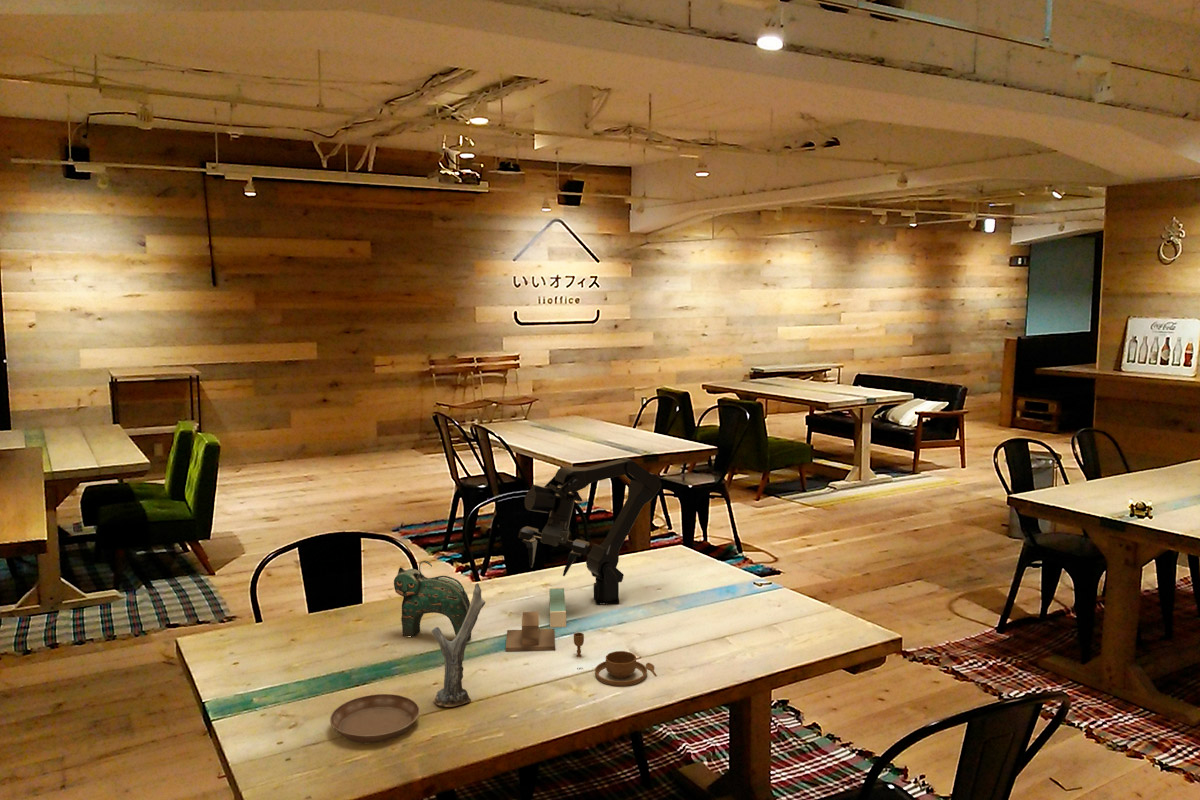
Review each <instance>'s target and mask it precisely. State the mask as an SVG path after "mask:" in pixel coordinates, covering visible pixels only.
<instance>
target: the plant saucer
mask: <svg viewBox="0 0 1200 800" xmlns="http://www.w3.org/2000/svg"><path fill="white" fill-rule="evenodd" d="M420 711H421V710H420V706H419V705H418V703H417V702H416V701H414V700H412V699H411V698H409V697H407V696H403V695H400V694H399V695H398V694H393V693H392V694H390V693H389V694H388V693H379V694H378V693H377V694H368V695H364V696H359V697H356V698H353V699H351V700H348V701H346V702H344V703H342V704H341V705H339V706H337V708H335V709H334V710H333V711H332V713H331V715H330V718H329V721H330V724H331V726H332V728H333V729H334V731H336V732H337V733H338V734H339V735H340V736H341V737H342V738H344V739H346V740H347V741H349V742H353V743H358V744H366V743H367V744H377V743H378V744H379V743H380V744H381V743H384V742H388V741H391V740H394V739H396V738H399V737H400V736H402V735H403V734H405V733H406V732H407V731H409V730H410V728H411V727H412V726H413V725H414V724H415V722H416V720H417V719H418V717H419V716H420ZM367 744H366V745H367Z"/></svg>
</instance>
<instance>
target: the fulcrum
mask: <svg viewBox="0 0 1200 800" xmlns="http://www.w3.org/2000/svg"><path fill="white" fill-rule="evenodd" d="M521 617H522V619H521V629H507V630H506V642H505V652H508V653H509V652H534V651H535V652H538V651H539V652H541V651H556V635H555V628H539V625H540V622H539V621H540V620H539V611H522V616H521Z"/></svg>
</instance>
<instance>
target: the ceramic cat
mask: <svg viewBox="0 0 1200 800" xmlns="http://www.w3.org/2000/svg"><path fill="white" fill-rule="evenodd" d="M422 563H426V564H428V565H429V566H430V567H431V568H432V566H433V565H432V563H430V561H428V560H422V561H420V563H419V565H418V569H415V568H409V569H407V570H405V569H404V568H403V567H399V568H398V572H397V575H396V576H395V578H393V588H394V591H395V593H396V594H397V595H399V596H401V597H403V599H402V603H401V616H400V617H401V618H400V621H401V626H402V627H401V628H402V630H401V631H402V637H405V636H411V637H410V638H413V637H412V636H415V637H416V636H418V634H420V632H421V622H422V621H421V620H422V618H423V616H424V615H425V614H433V613H436V614H441V615H443V616H446V617H447V618H448V619H449V621H450V623H451V626H452V627H453V632H454V635H455V637H456V636H457V634H458V633H459V631H460V629H461V627H462V624H463V622H464V620H465V617H466V615H467V613H468V610H469V607H470V604H471V601H470V599H469V597H468V594H467V592H466V590H465V587H464V586H463V584H462V583H461V582H460V581H459V580H458V579H456V578H454V577H451V576H448V575H439V576H434V577H426V576H425V574H423V572H421V564H422ZM471 639H472V632H471V633H470V635H469V637H468V639H467V643H469V641H470V640H471Z"/></svg>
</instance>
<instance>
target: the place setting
mask: <svg viewBox="0 0 1200 800" xmlns="http://www.w3.org/2000/svg"><path fill="white" fill-rule="evenodd" d="M584 642H585V635H584V633H583V632H575V633H573V644H574V646H576V649H577V650H576V653H577V655H576V657H577V658H580V657H582V655H581V653H582V649H581V647H582V646H583V645H584V644H585V643H584ZM576 669H577V670H578V671H580V670H584V668H583V667H581V666H580V667H577V668H576ZM604 669H606V671H607V672H608V673H609V674H610V675H612V677H614V678H615V679H626V678H629V677H630V676H631V675H632V674H634V672H635V671H636V669H637V670H638V671H640V672H641V673H642V675H641V677H638V678H635V679H631V680H622V681H621V680H619V681H618V680H611V679H607V678H605V677H602V676H601V675H600V672H601V671H603V670H604ZM648 671H651V672H652V674H653V676H654V677H658V675H657V673H656V672H655V665H654V664H653V663H651V662H646V664H645V665H644V664H643V663H642V662H639V661H637V656H636V655H635V653H633V652H629V651H625V650H624V651H623V650H617V651H612V652H610V653H607V655H605V660H604V661H603V662H600V663H599V664H598V665H596V667H595V668H594V675H595V677H596V679H597V680H598V681H600V682H601V683H603V684H605V685H610V686H616V687H629V686H633V685H637V684H639V683H641V682H643V681H644V680H645V679H646V677H647V674H648Z"/></svg>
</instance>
